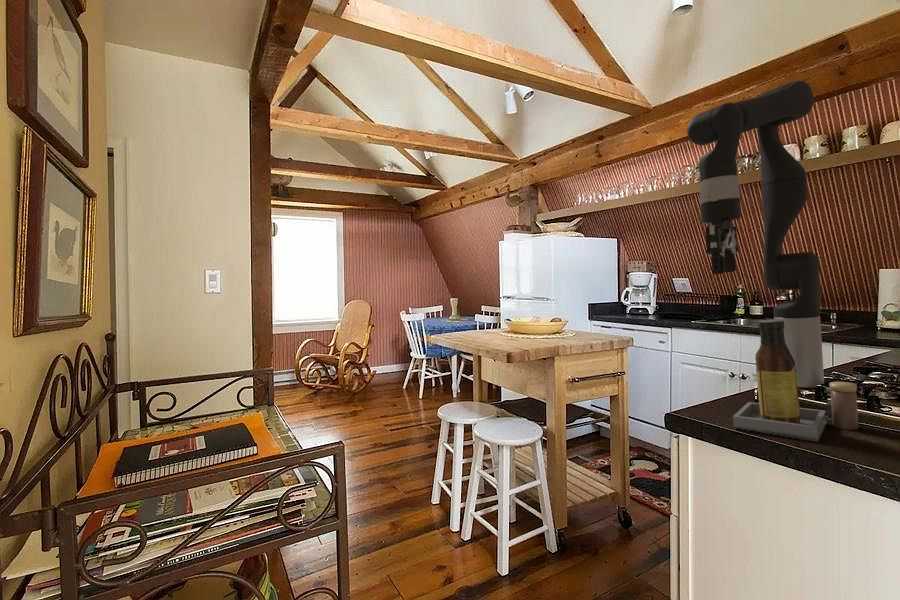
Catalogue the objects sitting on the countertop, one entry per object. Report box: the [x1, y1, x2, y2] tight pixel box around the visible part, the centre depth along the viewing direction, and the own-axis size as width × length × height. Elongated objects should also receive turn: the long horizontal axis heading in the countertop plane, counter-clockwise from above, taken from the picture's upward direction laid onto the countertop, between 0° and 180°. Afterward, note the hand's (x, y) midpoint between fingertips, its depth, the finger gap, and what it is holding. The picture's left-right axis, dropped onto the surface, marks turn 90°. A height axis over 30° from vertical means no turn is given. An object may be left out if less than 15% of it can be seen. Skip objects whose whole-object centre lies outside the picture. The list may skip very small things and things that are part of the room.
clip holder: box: [825, 399, 832, 422], centre depth 91 cm, size 5×13×3 cm, turn 44°
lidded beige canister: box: [828, 381, 859, 431], centre depth 82 cm, size 4×4×8 cm
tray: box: [732, 401, 828, 443], centre depth 85 cm, size 12×13×2 cm
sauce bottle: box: [754, 319, 801, 424], centre depth 85 cm, size 7×6×20 cm
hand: (724, 273), depth 98 cm, fingers open, 8 cm apart
